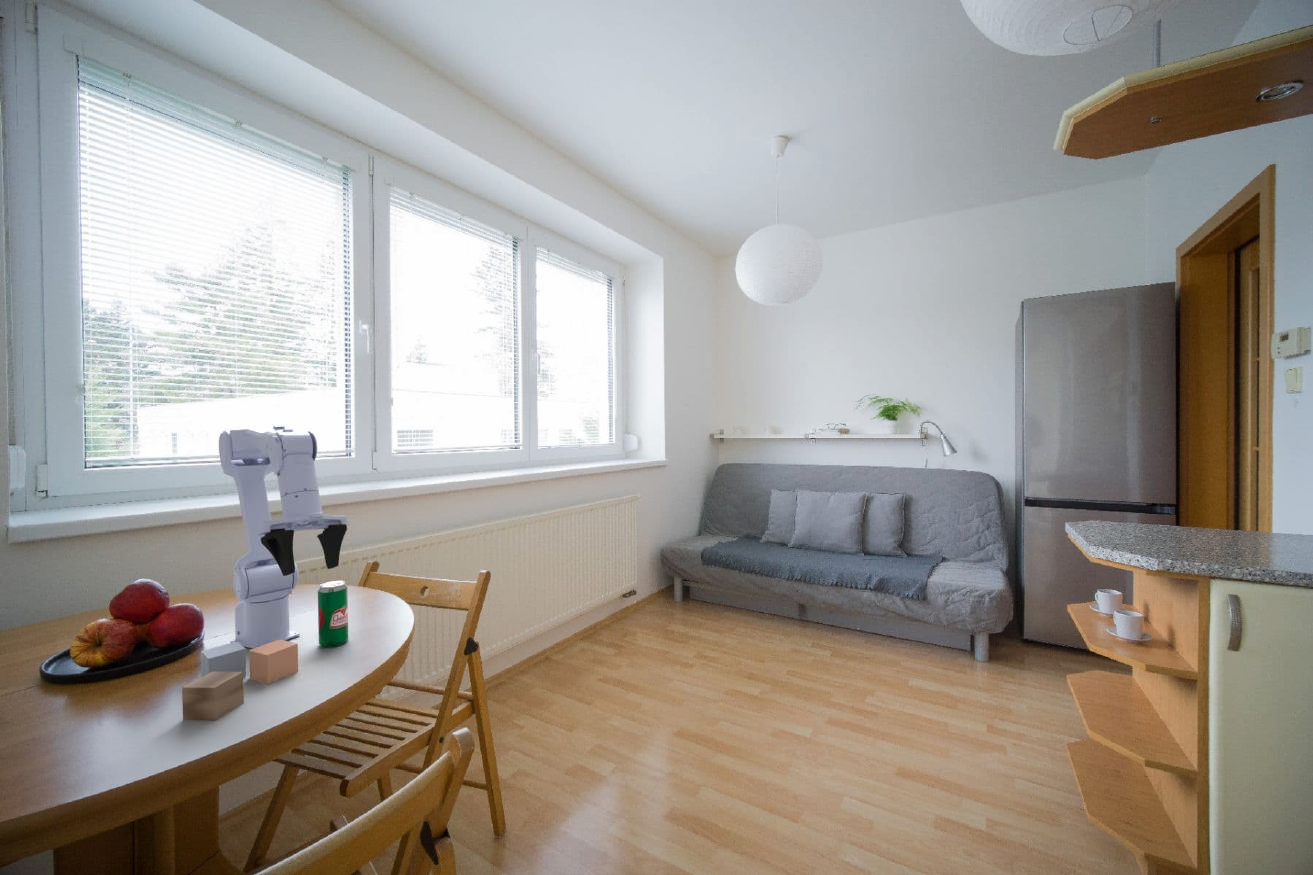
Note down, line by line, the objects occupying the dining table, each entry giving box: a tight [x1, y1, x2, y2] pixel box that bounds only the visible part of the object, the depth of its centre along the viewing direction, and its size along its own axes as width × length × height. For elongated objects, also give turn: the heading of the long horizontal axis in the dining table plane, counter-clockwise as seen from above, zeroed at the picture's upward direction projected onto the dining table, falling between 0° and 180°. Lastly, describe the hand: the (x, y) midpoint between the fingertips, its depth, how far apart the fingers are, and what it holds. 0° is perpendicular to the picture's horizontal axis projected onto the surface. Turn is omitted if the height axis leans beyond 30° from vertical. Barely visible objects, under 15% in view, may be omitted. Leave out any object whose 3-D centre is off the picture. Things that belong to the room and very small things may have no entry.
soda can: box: [317, 580, 349, 648], centre depth 104 cm, size 5×5×12 cm
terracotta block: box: [248, 639, 299, 685], centre depth 91 cm, size 5×5×5 cm
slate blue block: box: [200, 642, 247, 678], centre depth 90 cm, size 5×5×5 cm
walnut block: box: [181, 671, 245, 722], centre depth 79 cm, size 5×5×5 cm
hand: (311, 570), depth 90 cm, fingers open, 7 cm apart
